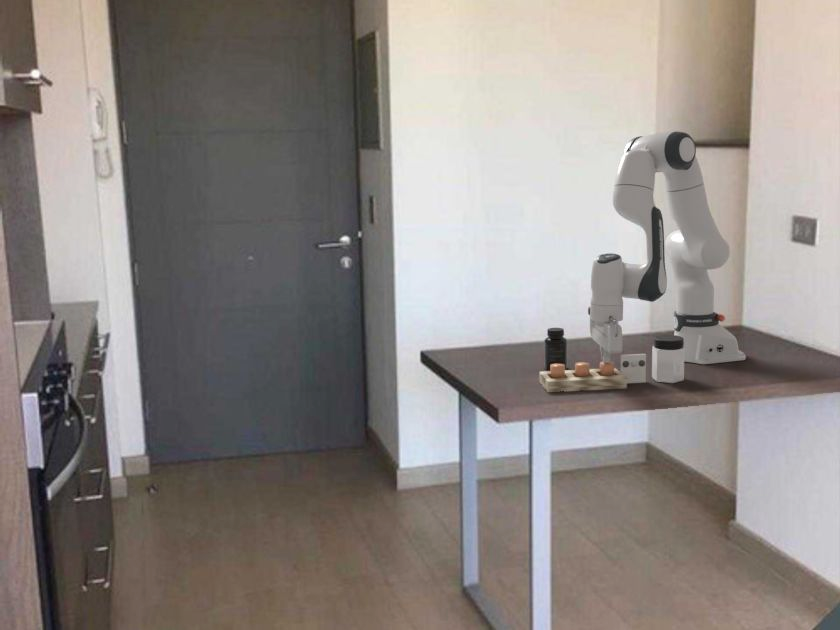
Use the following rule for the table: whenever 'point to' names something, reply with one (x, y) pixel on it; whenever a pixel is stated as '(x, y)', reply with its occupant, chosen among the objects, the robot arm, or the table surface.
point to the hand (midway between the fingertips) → (605, 362)
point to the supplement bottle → (555, 348)
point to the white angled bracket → (634, 367)
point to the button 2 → (607, 368)
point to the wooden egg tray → (582, 381)
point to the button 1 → (557, 370)
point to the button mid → (582, 369)
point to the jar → (668, 358)
